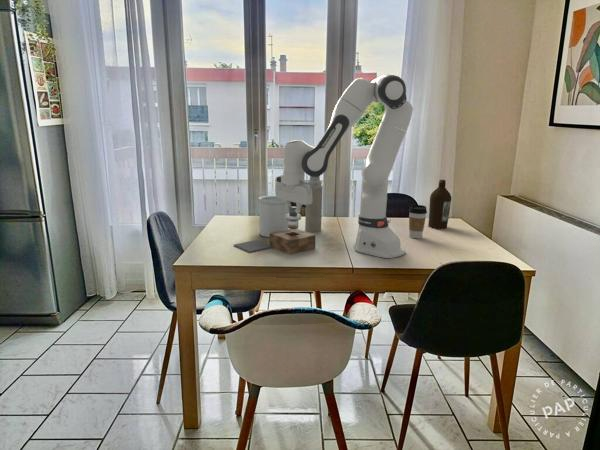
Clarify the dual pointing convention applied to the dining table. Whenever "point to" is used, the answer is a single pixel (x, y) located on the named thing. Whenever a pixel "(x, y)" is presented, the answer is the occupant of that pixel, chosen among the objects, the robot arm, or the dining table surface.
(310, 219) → the thermos bottle
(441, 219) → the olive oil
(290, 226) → the end cover
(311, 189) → the robot arm
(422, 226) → the coffee cup
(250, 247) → the mat
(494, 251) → the dining table surface
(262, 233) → the utensil holder
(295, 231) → the socket block
